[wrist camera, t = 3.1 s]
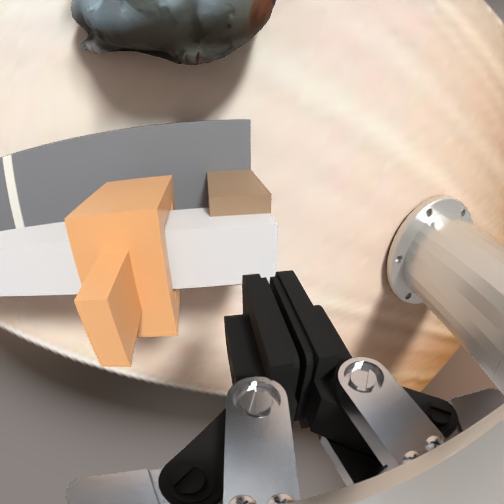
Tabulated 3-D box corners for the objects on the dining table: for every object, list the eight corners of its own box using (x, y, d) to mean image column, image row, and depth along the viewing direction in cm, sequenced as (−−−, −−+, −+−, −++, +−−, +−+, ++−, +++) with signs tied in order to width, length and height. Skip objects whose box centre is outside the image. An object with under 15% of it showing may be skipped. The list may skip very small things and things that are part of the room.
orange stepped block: (172, 174, 16) (140, 247, 8) (182, 270, 19) (175, 392, 10) (106, 182, 15) (24, 258, 7) (123, 274, 18) (85, 390, 10)
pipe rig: (247, 119, 20) (281, 123, 11) (248, 266, 25) (272, 346, 17) (-38, 171, 16) (-105, 206, 7) (-8, 283, 21) (-53, 341, 13)
